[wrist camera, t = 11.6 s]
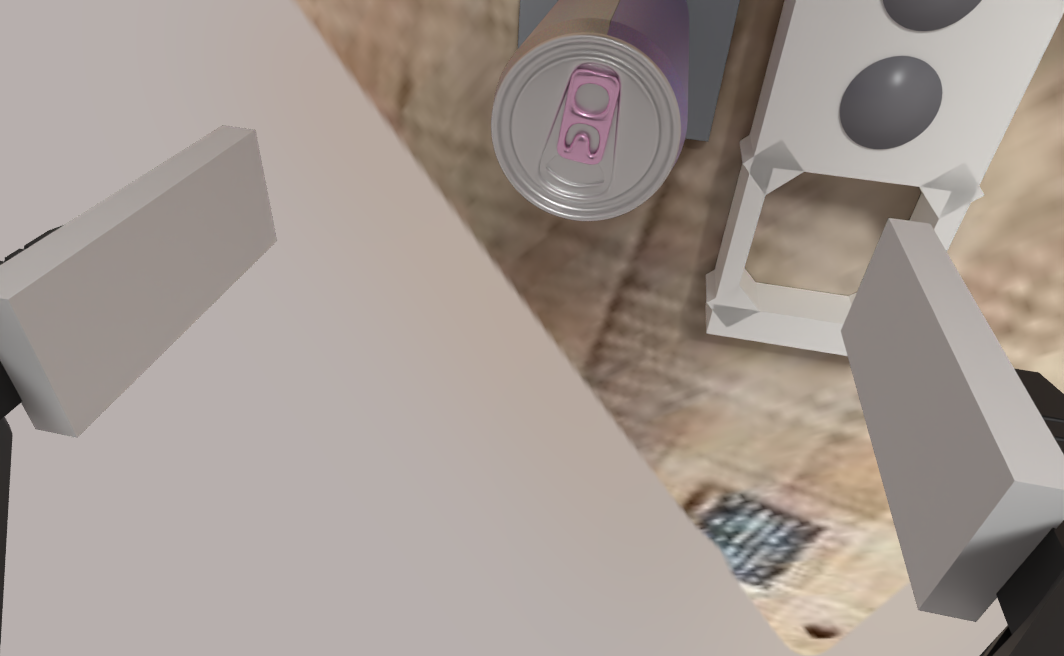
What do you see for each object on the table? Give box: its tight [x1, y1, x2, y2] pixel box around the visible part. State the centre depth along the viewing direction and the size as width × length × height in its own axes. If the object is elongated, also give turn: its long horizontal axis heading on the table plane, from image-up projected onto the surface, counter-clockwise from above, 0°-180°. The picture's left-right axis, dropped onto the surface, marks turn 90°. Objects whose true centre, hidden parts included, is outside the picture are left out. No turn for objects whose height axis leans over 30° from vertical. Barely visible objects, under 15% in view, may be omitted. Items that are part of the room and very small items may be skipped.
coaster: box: [518, 0, 740, 141], centre depth 32 cm, size 10×10×1 cm
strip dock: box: [706, 0, 1064, 356], centre depth 29 cm, size 30×11×4 cm, turn 176°
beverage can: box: [491, 0, 689, 221], centre depth 26 cm, size 6×6×15 cm
